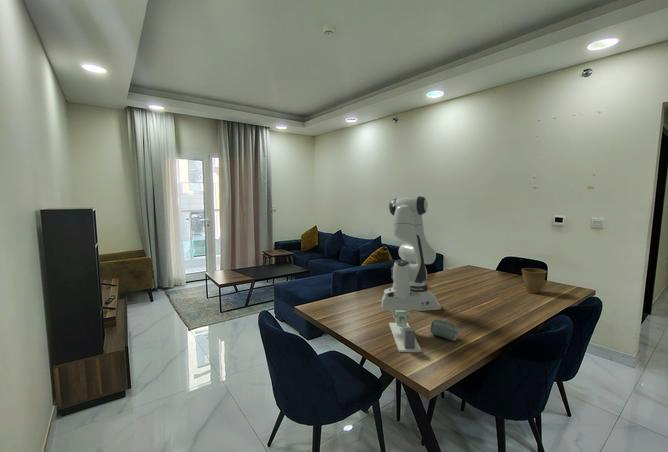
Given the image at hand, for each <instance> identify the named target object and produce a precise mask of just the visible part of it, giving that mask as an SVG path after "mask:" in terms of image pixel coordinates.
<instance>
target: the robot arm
mask: <svg viewBox="0 0 668 452" xmlns="http://www.w3.org/2000/svg"><path fill="white" fill-rule="evenodd" d="M388 207H389V208H388V209H389V213H390V214H391V215H392V216H393V222H392V223H393V224H392V231H393V232H392V233H393V235H394V237H395V238H396V239H397V240H398V241H400V242H403V243H404V244H401V245H400V246H399V248H398V256H399V257H400V259H399V260H395V261H394V263H393V265H392V266H391V269H390V271H391V272H390V273H391V274H390V276H391V277H390V278H391V279H392V281H393V282H392V287H389V288H386V289H383V295H382V296H381V297H382V298H381V304H380V305H381V306H380V307H381V309H382V310H383V311H391V313H392V317H393V319H395V318H396V314H395V310H405V311H407V312H406V313H407V319H410V315H411V314H412V311H417V312H422V311H423V312H424V311H436V310H442V306H441V304H440V303H439V302H438V299H437V297H436V295H435V294H434V293H432V292H431V291H430V290H431V287H430V285H428V284H426V281H427V278H428V271H427V268H426V265H432V264H433V263H434V262H435V261H436V258H437V254H436V250H435V249H434V248H433V247H432V246H431V245H430V244H429V242H428V240H427V238H426V235H425V229H424V221H423V215H425V214H426V213H427V211H428V201H427V199H426V197H425V196H406V197H405V196H404V197H398V198H394V199H391V200H390V202H389V205H388Z"/></svg>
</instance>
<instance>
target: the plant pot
mask: <svg viewBox="0 0 668 452" xmlns="http://www.w3.org/2000/svg"><path fill="white" fill-rule="evenodd" d="M521 275H522V279H523V284H524V287H525V289H526V292H527V293H529V294H534V293H538V294H540V292H541V290H542V288H543V287H544V286H543V285H544V283H545V279H546V276H547V270H545V269H541V268H534V267H533V268H532V267H526V268H525V267H524V268H521Z"/></svg>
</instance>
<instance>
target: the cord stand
mask: <svg viewBox="0 0 668 452" xmlns="http://www.w3.org/2000/svg"><path fill="white" fill-rule="evenodd" d="M400 320H401V322H402V324H397V323H396V322H389V323H388V325H389V328H390V330H391V332H392V333H391V334H392V336H393V338H394V342H395V344H396V347H397V349H398V352H399V353H422V348H421V347H420V344H419V343H418V340H417V339H416V330H415V328H414V327H411V326H410V325H409V323H408V322H407V324H406V323H405V321H404V319H403V317H400Z"/></svg>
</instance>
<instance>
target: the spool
mask: <svg viewBox="0 0 668 452" xmlns="http://www.w3.org/2000/svg"><path fill="white" fill-rule="evenodd" d="M459 332H460V330H459V327H458V325H456V324H455V323H452V322H450V321H446V320H443V319H433V321H432V322H431V324H430V333H431V334H432V335H434V336H437V337H439V338H443V339H446V340H448V341H452V342H453V341H456V340H457V338H458V336H459Z"/></svg>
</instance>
